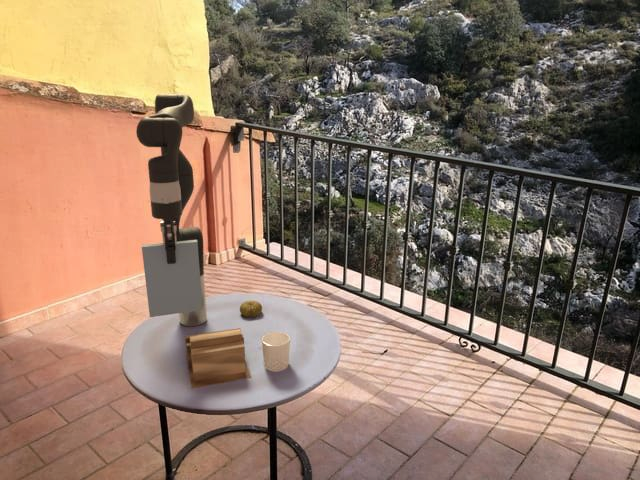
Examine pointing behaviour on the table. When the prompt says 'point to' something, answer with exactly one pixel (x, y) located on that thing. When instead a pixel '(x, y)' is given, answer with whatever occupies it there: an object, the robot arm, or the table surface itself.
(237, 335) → the tall oak offcut
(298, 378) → the table surface
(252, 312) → the sculpture
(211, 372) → the short oak offcut
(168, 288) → the tall board
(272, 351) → the white cup
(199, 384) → the rack
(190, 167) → the robot arm
